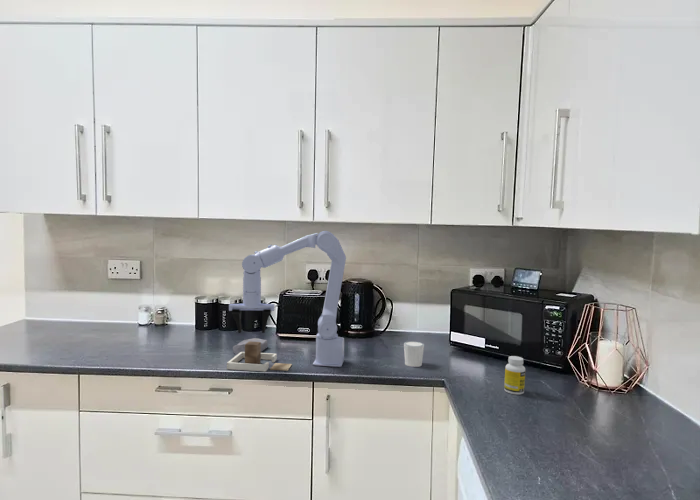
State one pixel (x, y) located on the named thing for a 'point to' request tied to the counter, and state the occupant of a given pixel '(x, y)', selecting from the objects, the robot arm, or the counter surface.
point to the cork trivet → (281, 366)
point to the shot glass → (413, 353)
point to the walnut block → (253, 352)
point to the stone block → (241, 345)
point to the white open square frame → (247, 366)
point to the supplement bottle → (514, 376)
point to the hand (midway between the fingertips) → (251, 332)
